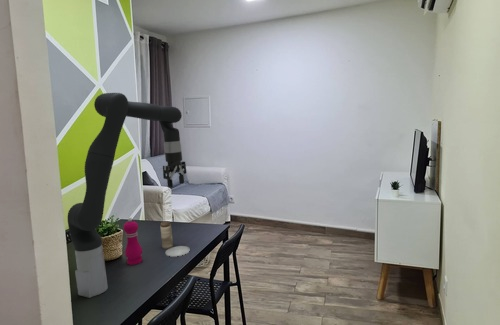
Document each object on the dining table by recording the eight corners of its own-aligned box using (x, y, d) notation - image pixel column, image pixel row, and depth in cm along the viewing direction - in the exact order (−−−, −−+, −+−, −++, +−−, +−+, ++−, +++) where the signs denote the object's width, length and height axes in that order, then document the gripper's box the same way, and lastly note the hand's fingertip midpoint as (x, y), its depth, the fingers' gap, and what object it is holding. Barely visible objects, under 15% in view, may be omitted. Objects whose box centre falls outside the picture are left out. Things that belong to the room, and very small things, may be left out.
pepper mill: (138, 265, 150) (133, 220, 148) (122, 265, 152) (117, 220, 149) (146, 258, 157) (141, 215, 155) (131, 258, 159) (126, 215, 156)
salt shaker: (168, 249, 167) (166, 224, 165) (160, 247, 169) (157, 223, 167) (175, 245, 171) (172, 221, 170) (166, 244, 174) (164, 220, 172)
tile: (180, 258, 156) (180, 256, 155) (160, 255, 160) (160, 253, 160) (194, 248, 165) (194, 247, 165) (175, 246, 170) (175, 245, 170)
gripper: (169, 153, 154) (173, 189, 157) (188, 149, 167) (191, 182, 169) (156, 153, 158) (160, 188, 160) (176, 149, 170) (179, 182, 173)
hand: (176, 185), depth 165 cm, fingers open, 8 cm apart
